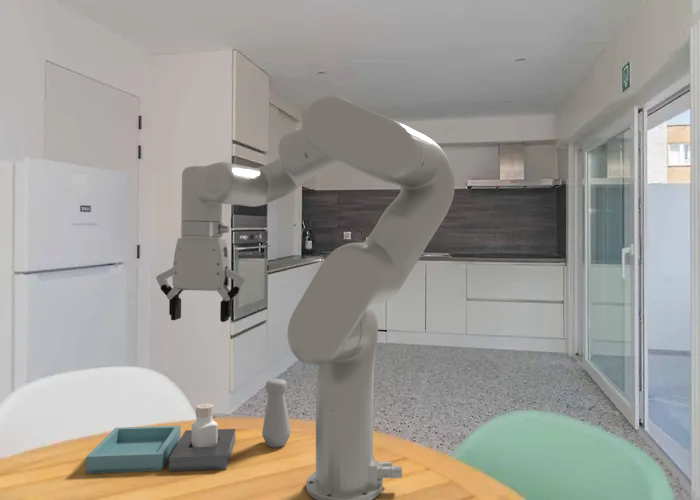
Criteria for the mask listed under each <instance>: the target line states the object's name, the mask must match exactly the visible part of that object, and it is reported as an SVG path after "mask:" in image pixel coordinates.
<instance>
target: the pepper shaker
mask: <svg viewBox="0 0 700 500" xmlns="http://www.w3.org/2000/svg"><path fill="white" fill-rule="evenodd" d="M195 417H196V419H195V420H196V421H194V422H193V423H191V430H192V448H194V447H216V446H217V444H218V429H219V427H218V422H216V421H215V420H214V405H213V403H200V404H197V405H196V406H195Z"/></svg>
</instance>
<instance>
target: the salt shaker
mask: <svg viewBox="0 0 700 500" xmlns="http://www.w3.org/2000/svg"><path fill="white" fill-rule="evenodd" d="M287 387H288V384H287V381H286V380H285V379H283V378H271V379H268V380H267V381H266V383H265V392H266V393H268V396H267V400H266V406H265V412H264V414H265V415H264V418H263V419H264V420H263V425H262V431H261V432H262V438H263V439H264V441H265V444H266V445H267V447H269V448H277V449H278V448H281V447H285V446H286V444H287V442H288V440H289V439H290V436H291V425H290V424H291V423H290V418H289V413H288V406H287V401H286V397H285V392H287Z"/></svg>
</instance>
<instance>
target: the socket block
mask: <svg viewBox="0 0 700 500" xmlns="http://www.w3.org/2000/svg"><path fill="white" fill-rule="evenodd" d="M235 442H236V428H220V429H219V428H218V444H217V446H216V447H194V448H192V429H191V430H190V429H187V430H185V431H184V432H183V434H182V435H181V439H180V440H179V442H178V444H177V445H176V447H175V449H174V450H173V452H172V454H171V455H170V457H169V460H168V472H172V473H173V472H189V471H192V472H193V471H196V472H198V471H214V470H215V471H217V470H227V467H228V465H229V462H230V458H231V456H232V453H233V449H234V446H235Z"/></svg>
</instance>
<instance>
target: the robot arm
mask: <svg viewBox="0 0 700 500" xmlns="http://www.w3.org/2000/svg"><path fill="white" fill-rule="evenodd" d="M277 149H278V157H279V158H278V159H276V160H274V161H271V162H270V163H267V164H264V165H262V166H259V167H253V166H247V165H243V164H239V163H238V164H236V163H231V162H224V161H221V162H220V161H219V162H215V163H211V164H208V165H192V166H191V165H190V166H188V167H185V168H184V169H183V170H182V173H181V211H180V212H181V215H180V216H181V217H180V220H181V221H180V238H179V237H178V238H177V240H176V245H175V249H174V256H173V262H172V263H173V264H172V268H170V269H167V270H166V271H164V272H161V273H160V274H158V275H157V276H155V278H156V281H157V283H158V286H159V287H160V290H161V291H162V293H163V294H165V296H166V298H167V299H168V300H169V302H168V303H169V307H168V309H169V313H168V314H169V316H170V320H171V321H176V320H179V319H181V317H182V298H181V297H180V295H181V294H182V293H183V292H184V291H207V292H210V291H211V292H213V291H214V292H216V291H217V293H218V294H219V295H220V296H221V298H222V300H221V301H220V310H219V311H220V317H219V318H220V320H219V321H220V322H222V323H225V322H227V321H229V319H230V318H231V317H232V300H234V298H235V297H236V296H237V295H238V294H239V293H240V292H241V289H242V288H243V287H244V284H245V282H246V277H244V275H243V276H242V274H240V273H238V272H236V271H234V270H232V269H230V260H229V249H228V242H227V240H226V239H225V238H222V237H223V234H229V231H230V227H229V225H224V224H223V221H222V220H223V205H231V206H236V205H237V206H244V207H260V206H264V205H267V204H270V203H273V202H275V201H278V200H280V199H283V198H286V197H287V196H289V195H291V194H293V193H294V192H296V191H297V190H298V189H299V188H300V187H301V186H302V185H303V183H305V181H307V180H309V179H311V178H314V177H316V176H319V175H321V174H323V173H326V172H329V171H331V170H334V169H337V168H339V167H342V166H343V165H344V166H345V165H347V166H348V167H351V168H353V169H355V170H356V171H359V172H361V173H363V174H365V175H367V176H369V177H371V178H373V179H376V180H378V181H380V182H384V183H388V184H391V185H395V186H400V191H399V194H398V195H397V196H396V198H395V199H394V200H392V201H391V203H390V204H389V205H388V206H387V207H386V208H385V210H384V211H383V213H382V215H381V216H380V217H379V219H378V222H377V223H376V225H375V226H374V228H373V229H372V231H370V234H369V236H367V238H366V239H365V240H363V242H351V243H347V244H346V243H345V244H343V245H341V246H339V247H337V248H336V249H334V250H333V251H332V252H331V253H330V254H328V256H327V257H326V258H325V259H324V260H323V261H322V263H321V264H320V267H318V269H317V271H316V273H315V275H314V276H313V278H312V280H311V281H310V283H309V284H308V287H307V288H306V290H305V291H304V293H303V295H302V297H301V298H300V300H299V301H298V303H297V305H296V307H295V309H294V311H293V313H292V314H291V317H290V319H289V322H288V327H287V341H288V346H289V349H290V351H291V352H292V354H293V355H294V357H295V358H296V359H297V360H299V361H300V362H302V363H304V364H305V365H308V366H309V365H310V366H317V371H316V377H315V378H316V381H315V471H314V472H313V473H312V474H310V475H309V476H308V477H307V479H306V484H305V485H306V486H305V487H306V491H307V493H308V495H309V497H311V498H313V499H314V500H374V499H376V498H377V497H378V496H380V494H381V493H382V492H383V487H384V486H383V482H384V481H383V480H384V479H402V477H403V470H402V469H403V468H402V466H401V465H392V464H393V463H392V461H390V460H389V461H379V462H378V460H376V459H375V456H374V379H375V378H374V374H375V371H374V370H375V360H376V353H377V346H378V339H379V326H378V323H379V322H378V319H377V316H376V313H375V312H374V310H373V308H372V307H371V305H376V304H379V303H383V302H386V301H389V300H391V299H392V298H394V297H395V296H396V295H397V294H398V293H399V292H400V290H401V289H402V288H403V285H404V284H405V282H406V281H407V279H408V276H410V274H411V272H412V271H413V270H414V268H415V266H416V264H417V263H418V261H419V260H420V258H421V256H422V255H423V253H424V251H425V249H426V248H427V246H428V245H429V243H430V241H431V240H432V238H433V237H434V235H435V233H436V232H437V230H439V227H440V226H441V224H443V223H442V222H444V220H445V218H446V216H447V214H448V212H449V210H450V208H451V205H452V203H453V200H454V195H455V187H456V186H455V185H456V184H455V182H456V180H455V175H454V174H455V173H454V169H453V167H452V164H451V162H450V160H449V158H448V156H447V154H446V153H445V151H444V150H443V148H442V147H441V146H440V145H439V144H438V143H437V142H435V141H434V140H433V139H432V138H430V137H428V136H427V135H425V134H423V133H421V132H419V131H417V130H415V129H413V128H411V127H410V126H407V125H405V124H403V123H401V122H399V121H397V120H394V119H392V118H389V117H387V116H385V115H382V114H379V113H377V112H375V111H373V110H370V109H368V108H365V107H362V106H360V105H358V104H355V103H354V102H352V101H350V100H348V99H346V98H344V97H341V96H338V95H326V96H322V97H319V98H317V99H316V100H314V101H313V102H311V103H310V105H309V106H308V107H307V109H306V110H305V112H304V114H303V116H302V121H301V127H299V128H296V129H294V130H292V131H290V132H287V133H285V134H283V136H282V137H281V138H280V139H279V142H278V148H277ZM171 277H172V280H171V281H172V286H171V285H170V284H169V283H168V279H170V278H171ZM231 279H232V280H233V281H234V282H235V284H234V286H233V287H232V288H231V289H229V286H230V282H231Z"/></svg>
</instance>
